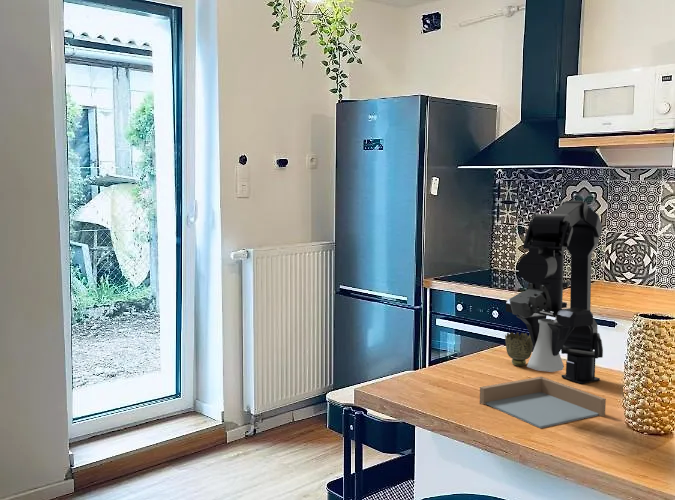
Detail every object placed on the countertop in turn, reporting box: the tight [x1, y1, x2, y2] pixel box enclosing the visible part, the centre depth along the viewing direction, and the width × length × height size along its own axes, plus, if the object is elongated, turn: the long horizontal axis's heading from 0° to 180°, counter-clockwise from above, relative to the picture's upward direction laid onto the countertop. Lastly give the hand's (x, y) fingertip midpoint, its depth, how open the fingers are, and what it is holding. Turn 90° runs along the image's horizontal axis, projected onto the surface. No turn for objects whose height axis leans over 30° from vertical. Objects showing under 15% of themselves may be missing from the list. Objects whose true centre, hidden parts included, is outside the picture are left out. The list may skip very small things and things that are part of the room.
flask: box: [526, 318, 565, 373], centre depth 131 cm, size 7×7×10 cm
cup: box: [504, 331, 534, 367], centre depth 170 cm, size 8×7×8 cm
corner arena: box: [479, 376, 607, 429], centre depth 135 cm, size 18×18×4 cm
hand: (545, 352), depth 132 cm, fingers closed on flask, 5 cm apart
